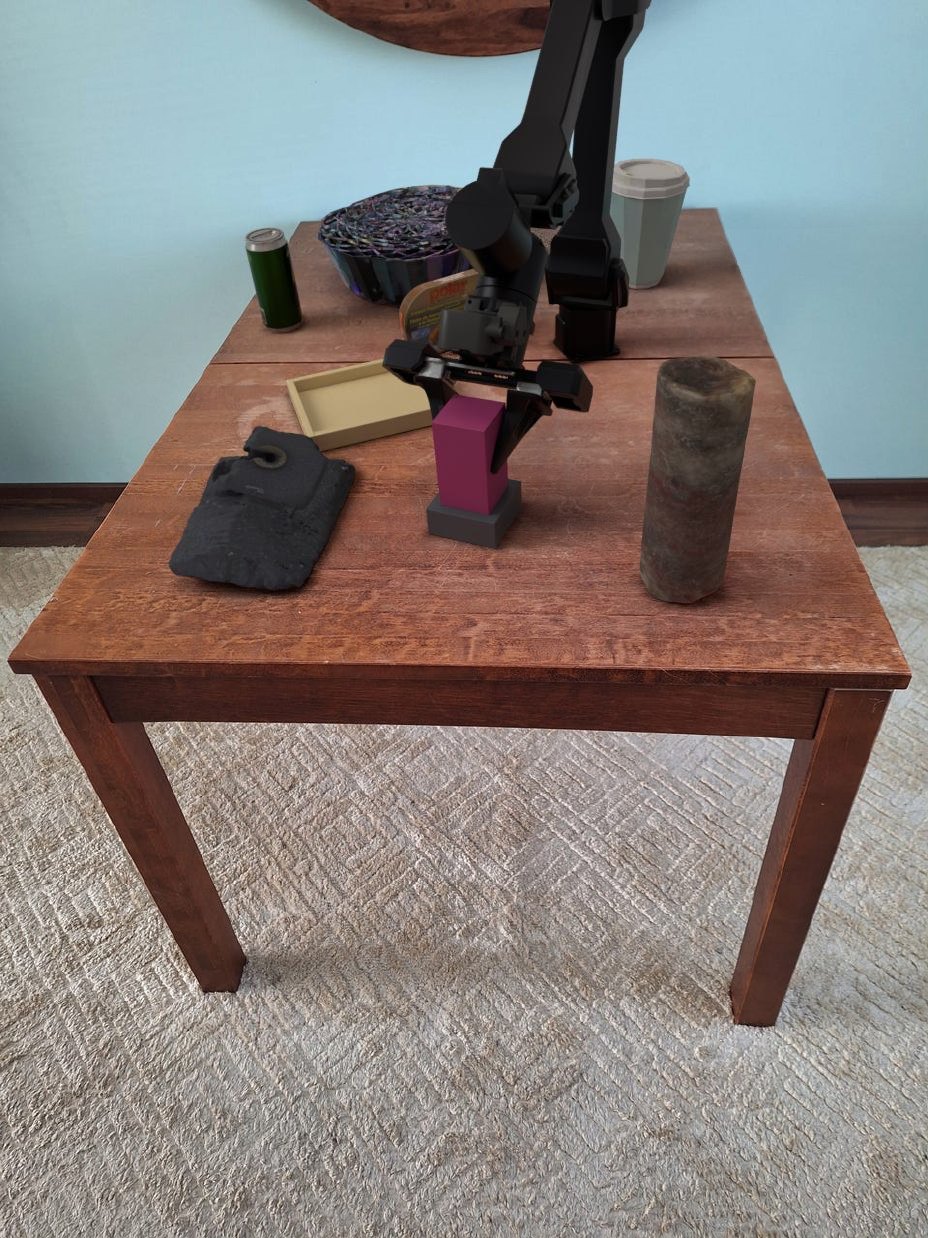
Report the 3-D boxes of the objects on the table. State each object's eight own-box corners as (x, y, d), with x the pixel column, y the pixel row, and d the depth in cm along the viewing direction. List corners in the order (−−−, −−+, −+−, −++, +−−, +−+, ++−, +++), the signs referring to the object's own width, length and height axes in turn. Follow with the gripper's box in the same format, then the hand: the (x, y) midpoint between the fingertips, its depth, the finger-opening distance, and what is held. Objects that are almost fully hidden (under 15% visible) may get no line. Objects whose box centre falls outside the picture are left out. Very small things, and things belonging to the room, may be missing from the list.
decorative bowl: (295, 308, 126) (277, 240, 118) (400, 226, 140) (390, 161, 133) (443, 342, 115) (433, 271, 108) (540, 250, 130) (537, 181, 122)
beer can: (274, 337, 115) (253, 246, 107) (258, 323, 119) (236, 234, 110) (310, 325, 117) (292, 235, 109) (293, 312, 121) (274, 223, 112)
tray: (428, 364, 108) (426, 348, 106) (463, 417, 98) (461, 401, 97) (289, 395, 104) (285, 379, 103) (311, 453, 95) (307, 437, 93)
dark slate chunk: (147, 590, 80) (129, 551, 77) (229, 456, 96) (217, 418, 92) (305, 600, 78) (294, 560, 74) (363, 461, 93) (356, 422, 90)
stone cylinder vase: (629, 553, 80) (647, 351, 66) (708, 545, 80) (743, 342, 66) (649, 610, 74) (673, 403, 60) (733, 601, 74) (778, 393, 60)
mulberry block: (460, 475, 85) (454, 393, 79) (508, 484, 83) (505, 402, 77) (440, 504, 82) (431, 422, 75) (488, 515, 80) (484, 431, 74)
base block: (457, 492, 88) (455, 467, 86) (522, 505, 86) (521, 481, 84) (428, 533, 84) (425, 508, 81) (495, 548, 81) (494, 523, 79)
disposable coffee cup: (631, 258, 126) (639, 145, 116) (694, 276, 121) (709, 160, 110) (585, 283, 121) (590, 168, 111) (649, 303, 116) (660, 184, 105)
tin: (409, 362, 108) (402, 297, 102) (399, 352, 110) (391, 287, 104) (514, 330, 113) (512, 265, 107) (502, 321, 115) (500, 257, 109)
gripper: (377, 250, 74) (336, 430, 74) (588, 272, 68) (541, 468, 68) (424, 300, 84) (388, 457, 85) (611, 323, 78) (570, 492, 79)
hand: (465, 467), depth 79 cm, fingers closed on mulberry block, 5 cm apart
